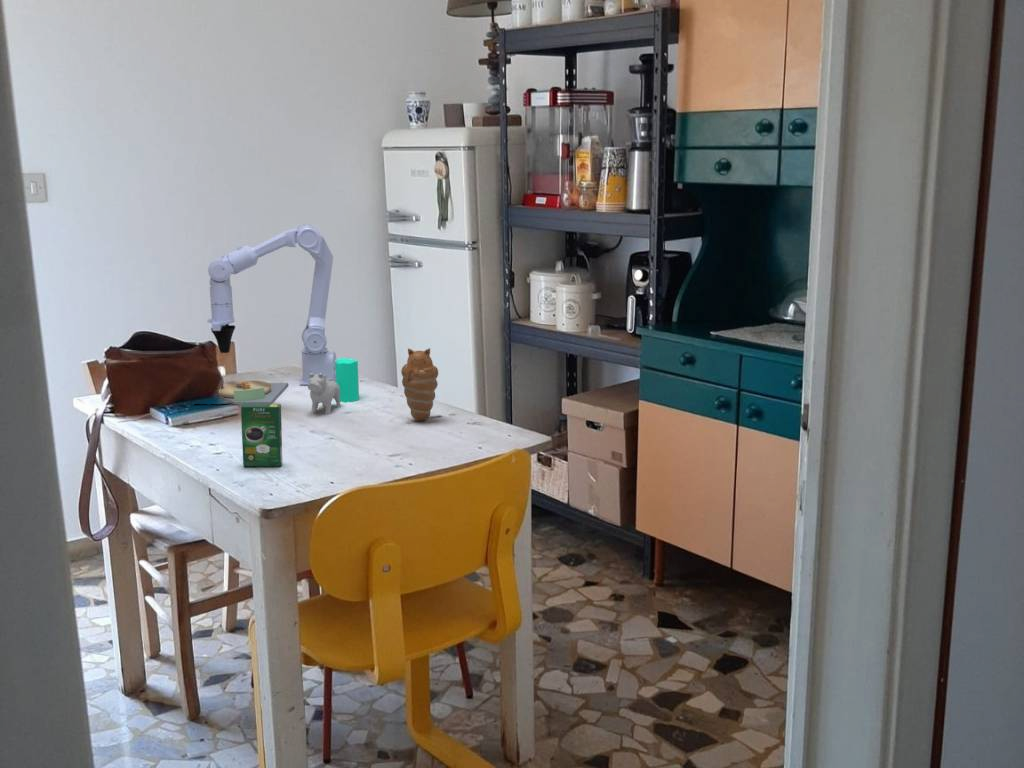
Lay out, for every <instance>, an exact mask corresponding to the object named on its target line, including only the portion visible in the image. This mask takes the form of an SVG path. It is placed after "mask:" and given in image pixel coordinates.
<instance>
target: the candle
mask: <svg viewBox="0 0 1024 768" xmlns="http://www.w3.org/2000/svg"><path fill="white" fill-rule="evenodd" d="M347 357H348V356H347V354H346V355H345V357H342V358H338V359H336V360H335V368H336V381H335V382H336V383H337V384H338V385H339V387H340V403H352V402H353V403H354V402H357V401H360V393H359V392H360V390H359V389H360V386H359V365H358V364H359V361H358V360H357V359H352V358H347Z"/></svg>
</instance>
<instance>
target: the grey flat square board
mask: <svg viewBox="0 0 1024 768" xmlns="http://www.w3.org/2000/svg"><path fill="white" fill-rule="evenodd" d="M268 383H269V384H271V391H270V392H268V393H266V394H264V395H265V398H263V399H257V400H249V401H234V398H228V397H224V398H226V399H229V400H232V401H234V402H235V403H237V404H238V405H237V406H242V405H243V404H274V402H275V401H276V400H277V399H278V398H279V397H280V396H281V395H282V394H283V393H284V392H285V390H286V389H287V388H288V387H289V382H268Z"/></svg>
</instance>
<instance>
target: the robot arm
mask: <svg viewBox="0 0 1024 768" xmlns="http://www.w3.org/2000/svg"><path fill="white" fill-rule="evenodd" d="M296 244H298V247H300V248H301V249H303V250H304V251H306V252H307V253H309V255H310V256H311V257H312V259H314V262H315V263H314V270H313V272H314V273H313V279H312V286H311V287H312V288H311V293H310V301H309V302H310V303H309V308H308V309H309V310H308V316H307V321H306V326H305V328H304V329H303V331H302V333H301V340H302V342H303V346H304V347H303V348H302V349H301V365H302V366H301V367H302V380H301V381H300V382H299V386H308V385H309V374H310V373H313V374H318V373H322V374H323V375H325V376H326V379H328V378H332V381H334V382H336V368H335V360H337V355H336V352H335V351H329V350H328V348H327V347H326V346H327V343H328V341H327V337H326V335H325V333H326V331H325V330H326V316H327V315H326V313H327V308H328V300H329V292H330V286H331V285H330V283H331V278H332V269H333V260H334V256H333V254H332V252H331V250H330V247H329V245H328V244H327V242H326V240H325V238H324V236H323V235H322V234H321V233H320V232H319V231H318V230H317V229H316V228H315V227H314V226H312V225H311V224H302V225H300V226H298V227H294V228H290V229H288V230H285V231H282V232H280V233H279V234H276V235H274V236H273V237H271V238H268V239H266V240H265V241H263V242H261V243H259V244H257V245H255V246H253V247H252V246H249V245H244V246H243V245H238V246H237V247H236V250H234V251H231V252H229V253H228V254H224V253H223V254H221V255H220V257H221V258H216V259H213V260H212V261H211V262H210V263H209V264H208V265H209V266H208V268H207V269H208V270H207V272H208V276H209V277H210V278H209V284H210V286H209V298H210V312H211V318H208V319H207V323H211V326H212V327H211V328H210V329H211V333H212V334H213V336H214V339H216V342H217V343H216V344H217V345H218V349H219V352H220V354H228V353H230V350H231V343H232V337H233V334H234V332H235V329H236V325H234V324H233V323H235V318H234V306H233V305H234V304H233V289H232V285H231V275H237V274H239V273H241V272H243V271H245V270H247V269H249V268H252V267H254V266H256V265H257V262H258V260H259V258H262V257H264V256H266V255H268V254H271V253H273V252H275V251H277V250H280V249H281V248H284V247H287V248H288V247H289V248H297V245H296ZM231 324H233V325H231Z"/></svg>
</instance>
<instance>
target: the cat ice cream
mask: <svg viewBox="0 0 1024 768" xmlns="http://www.w3.org/2000/svg"><path fill="white" fill-rule="evenodd" d="M407 355H408V358H407V362H406V363H405V364H404V365H403V366H402V367H401V370H400V373H401V376H402V379H401V384H402V386H403V388H404V389H403V392H404V396H405V398H406V403H407V406H408V408H409V409H410V415H411V417H412V418H413V419H414V420H415V421H418V422H423V421H425V420H427V419H429V418H430V416H431V410H432V409H433V408H434V407H433V406H434V400H435V399H436V392H435V391H436V389H437V388H438V381H437V378H438V376H439V369H438V367H437V366H435V365H434V363H433V360H432V357H431V356H430V355H431V348H427V349H425V350H413V349H411V348H407Z"/></svg>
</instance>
